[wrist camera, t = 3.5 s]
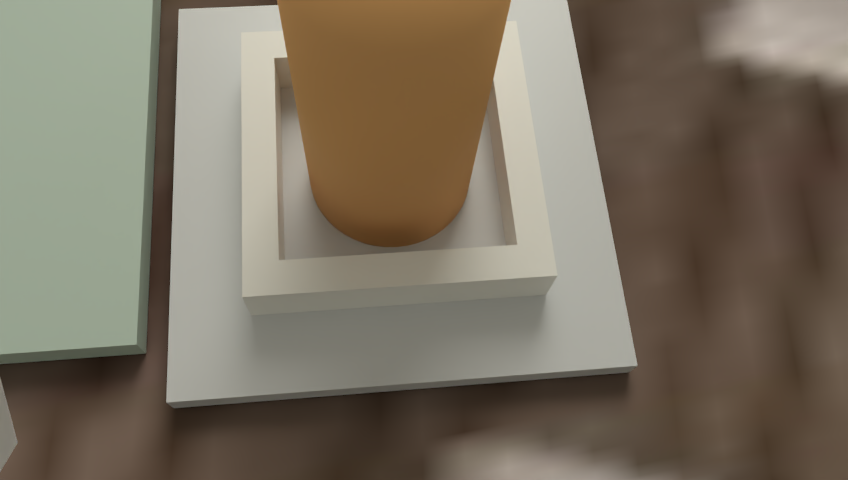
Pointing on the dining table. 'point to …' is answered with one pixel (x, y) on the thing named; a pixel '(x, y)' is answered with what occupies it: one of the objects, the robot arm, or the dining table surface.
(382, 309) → the base
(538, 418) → the dining table surface
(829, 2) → the dining table surface
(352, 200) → the orange plug
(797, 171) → the dining table surface
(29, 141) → the sage board
